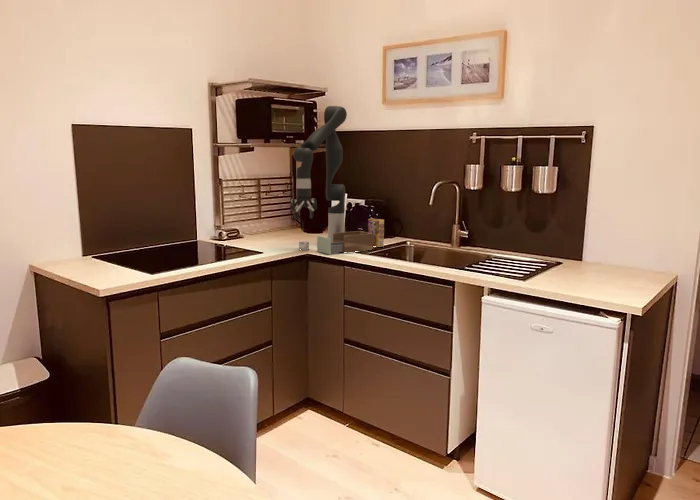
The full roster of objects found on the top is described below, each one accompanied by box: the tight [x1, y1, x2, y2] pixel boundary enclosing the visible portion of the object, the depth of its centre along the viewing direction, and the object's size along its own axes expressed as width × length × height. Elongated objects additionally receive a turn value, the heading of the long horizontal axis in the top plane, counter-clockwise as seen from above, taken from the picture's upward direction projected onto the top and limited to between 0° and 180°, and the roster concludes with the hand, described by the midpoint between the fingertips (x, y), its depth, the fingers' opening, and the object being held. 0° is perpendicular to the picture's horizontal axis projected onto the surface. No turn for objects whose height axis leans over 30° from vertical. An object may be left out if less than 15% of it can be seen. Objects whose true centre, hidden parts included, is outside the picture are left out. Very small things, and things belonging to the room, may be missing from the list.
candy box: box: [367, 218, 385, 247], centre depth 289 cm, size 9×4×15 cm, turn 39°
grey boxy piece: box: [316, 235, 344, 256], centre depth 274 cm, size 13×17×8 cm
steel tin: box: [298, 241, 310, 252], centre depth 280 cm, size 5×5×4 cm
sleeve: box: [333, 230, 374, 253], centre depth 279 cm, size 12×17×9 cm
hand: (303, 218), depth 277 cm, fingers open, 8 cm apart
